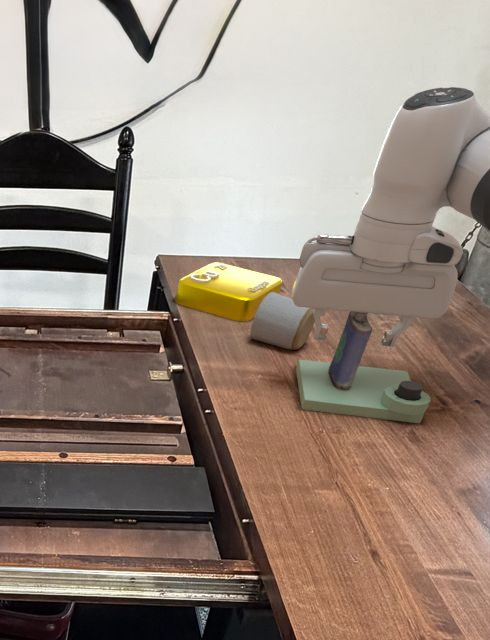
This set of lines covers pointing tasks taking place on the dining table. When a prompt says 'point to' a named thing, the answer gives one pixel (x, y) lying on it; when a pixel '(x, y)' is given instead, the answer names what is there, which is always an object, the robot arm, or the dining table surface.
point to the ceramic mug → (282, 322)
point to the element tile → (226, 291)
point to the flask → (350, 350)
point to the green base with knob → (358, 393)
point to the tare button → (409, 390)
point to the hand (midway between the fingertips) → (352, 341)
